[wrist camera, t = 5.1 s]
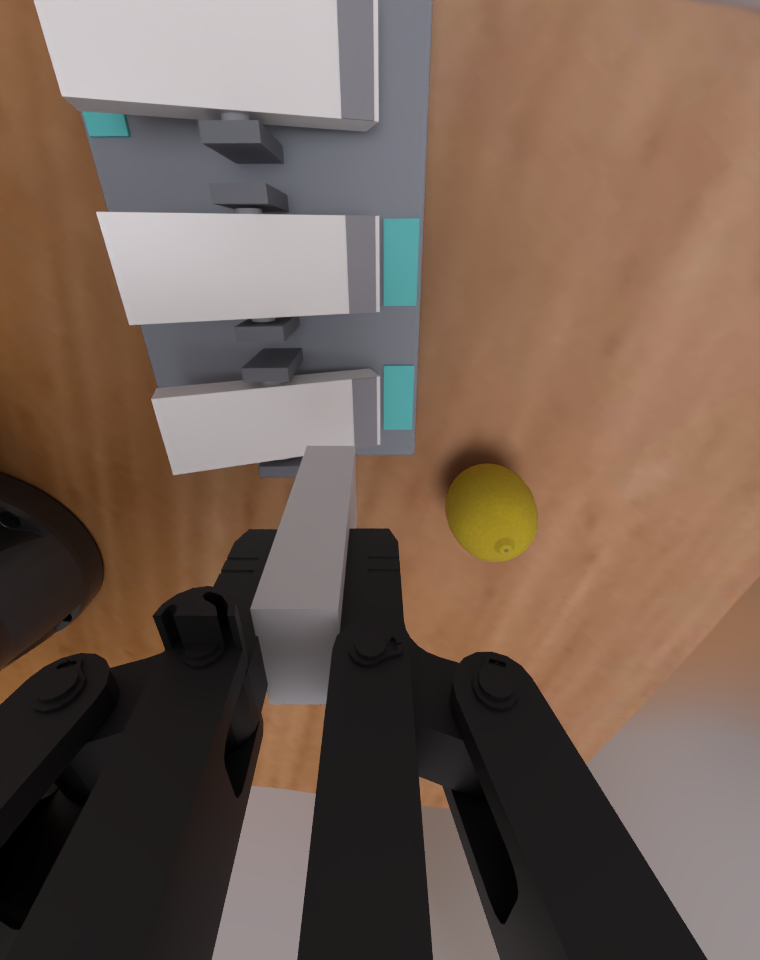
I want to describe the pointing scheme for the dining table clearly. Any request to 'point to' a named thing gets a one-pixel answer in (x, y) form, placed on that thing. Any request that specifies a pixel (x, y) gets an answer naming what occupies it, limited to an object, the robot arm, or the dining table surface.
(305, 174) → the console
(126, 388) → the dining table surface
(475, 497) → the lemon
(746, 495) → the dining table surface
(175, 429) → the rocker
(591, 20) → the dining table surface
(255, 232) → the rocker
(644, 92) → the dining table surface
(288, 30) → the rocker
